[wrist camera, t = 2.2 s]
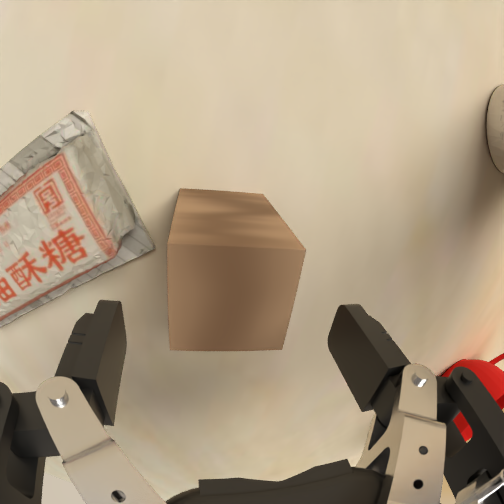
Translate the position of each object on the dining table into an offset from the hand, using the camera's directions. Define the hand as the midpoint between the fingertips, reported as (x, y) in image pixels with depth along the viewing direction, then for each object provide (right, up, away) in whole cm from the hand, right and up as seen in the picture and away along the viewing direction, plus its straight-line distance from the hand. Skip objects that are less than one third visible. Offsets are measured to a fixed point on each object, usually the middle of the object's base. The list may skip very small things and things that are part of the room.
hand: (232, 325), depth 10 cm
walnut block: (-1, +4, +8) cm, 9 cm away
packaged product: (-15, +4, +6) cm, 17 cm away
